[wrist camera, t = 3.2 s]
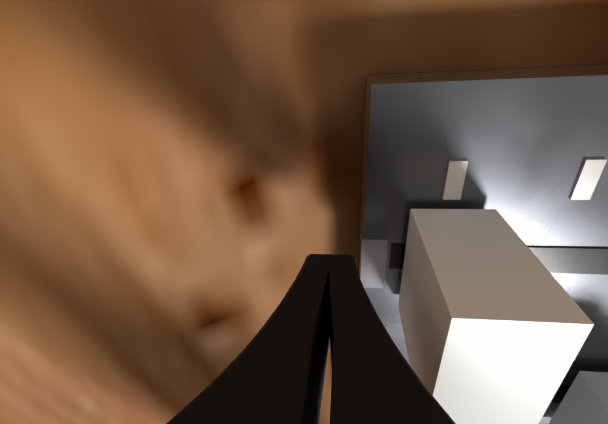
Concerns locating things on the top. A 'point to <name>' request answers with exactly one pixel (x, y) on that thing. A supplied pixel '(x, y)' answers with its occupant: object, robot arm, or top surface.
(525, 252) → the block
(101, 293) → the top surface
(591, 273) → the console
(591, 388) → the block
